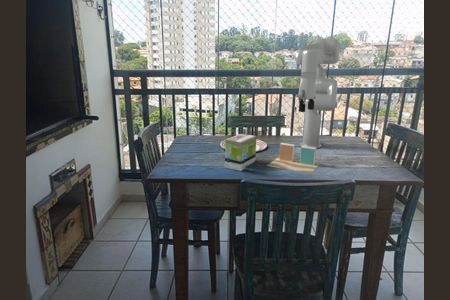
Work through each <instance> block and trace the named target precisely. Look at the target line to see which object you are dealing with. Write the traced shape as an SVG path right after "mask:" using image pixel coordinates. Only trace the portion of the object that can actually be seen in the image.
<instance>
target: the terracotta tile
mask: <svg viewBox="0 0 450 300" xmlns="http://www.w3.org/2000/svg"><path fill="white" fill-rule="evenodd" d="M295 147H296V146H295V144H291V143H286V142H281V143H279V153H278V155H279V156H278V157H279V160H284V161H290V162H293V161H294V160H295Z"/></svg>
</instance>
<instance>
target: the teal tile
mask: <svg viewBox="0 0 450 300" xmlns="http://www.w3.org/2000/svg"><path fill="white" fill-rule="evenodd" d="M299 155H300V156H299V160H300V163H302V164H308V165H315V163H316V155H317V149H316V148H314V147H307V146H302V147H301V146H300V154H299Z"/></svg>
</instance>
